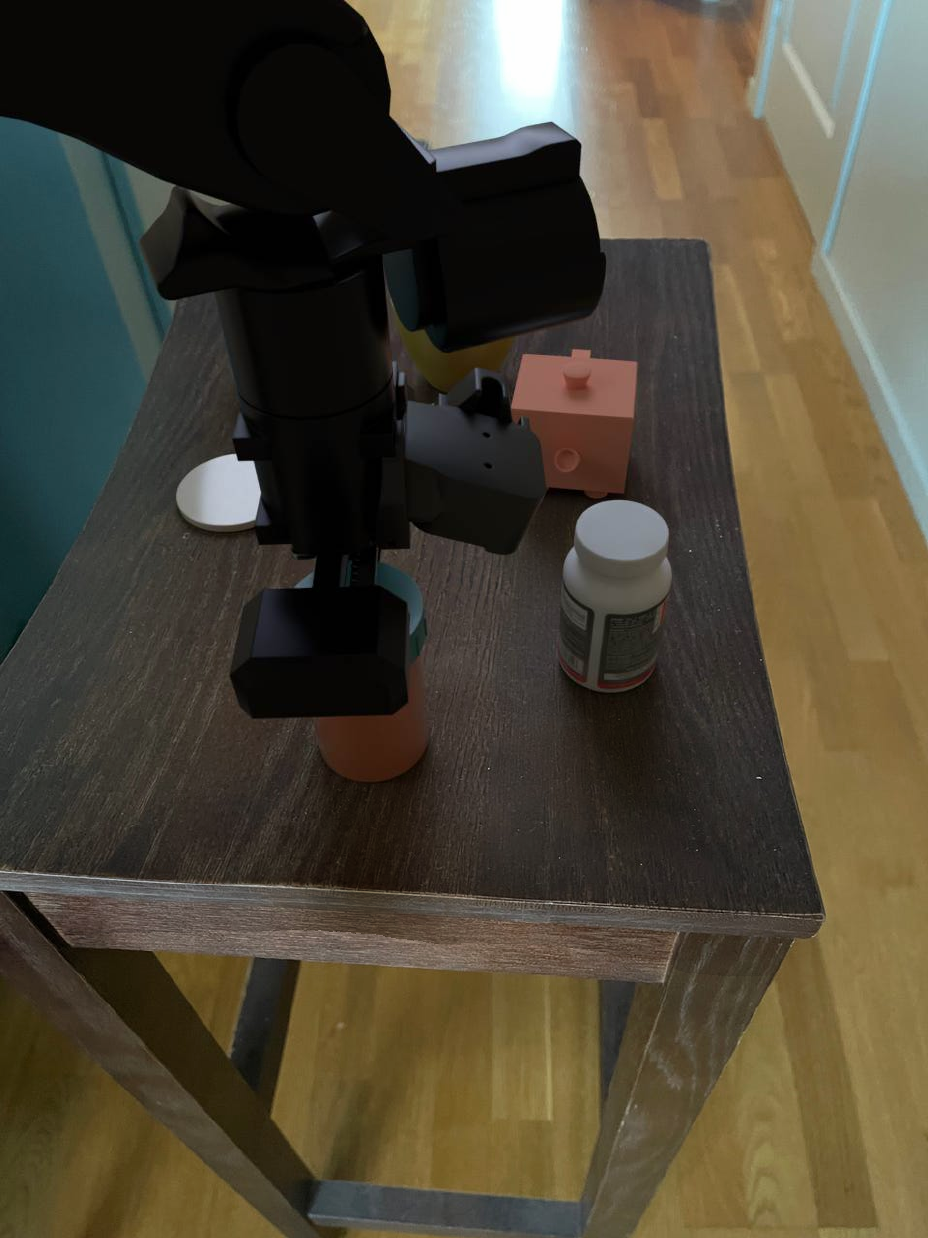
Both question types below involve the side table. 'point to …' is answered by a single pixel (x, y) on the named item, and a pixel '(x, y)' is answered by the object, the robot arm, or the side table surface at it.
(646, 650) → the pill bottle
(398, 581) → the lid
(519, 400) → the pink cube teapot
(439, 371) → the flower pot
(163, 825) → the side table surface
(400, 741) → the jar
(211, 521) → the saucer
